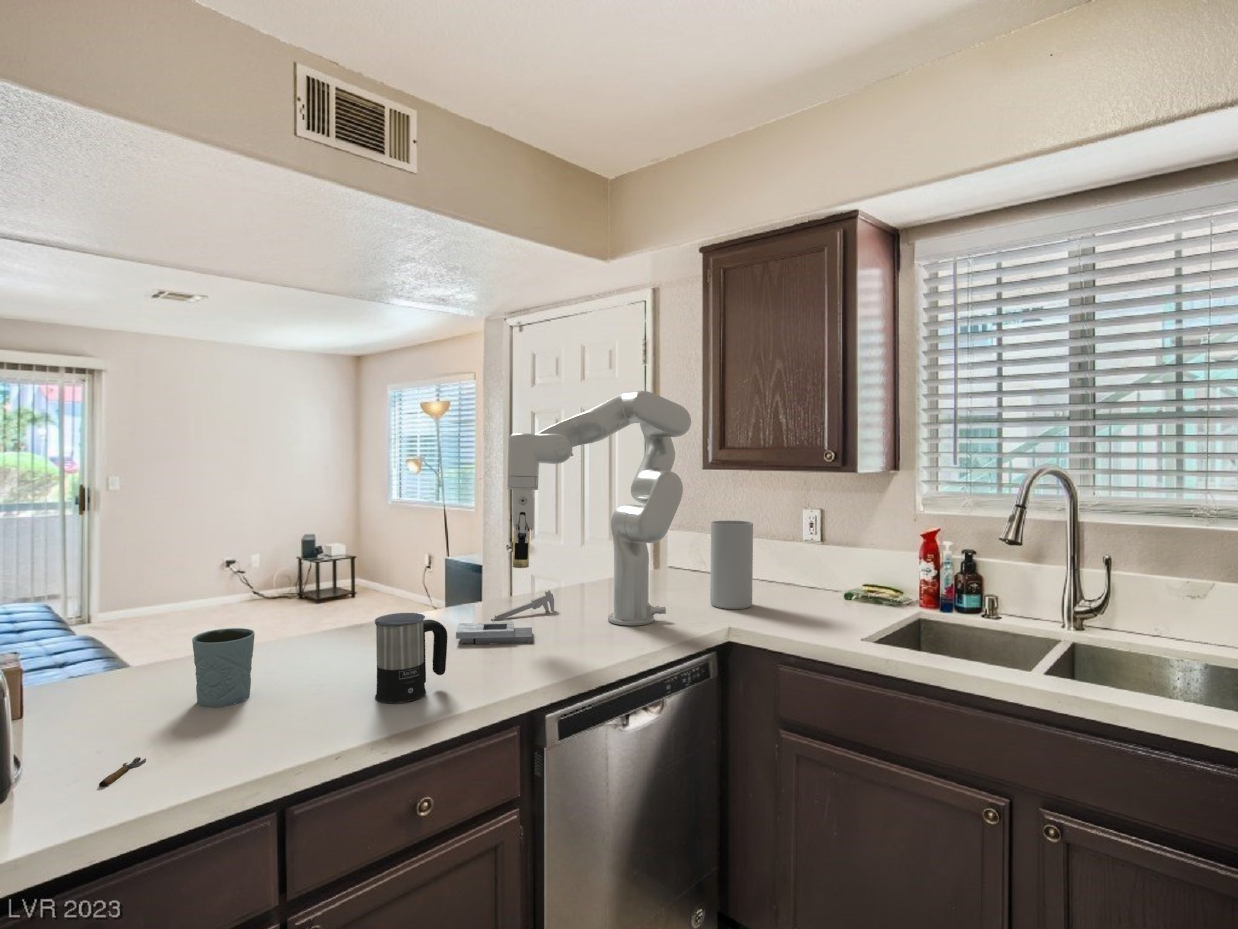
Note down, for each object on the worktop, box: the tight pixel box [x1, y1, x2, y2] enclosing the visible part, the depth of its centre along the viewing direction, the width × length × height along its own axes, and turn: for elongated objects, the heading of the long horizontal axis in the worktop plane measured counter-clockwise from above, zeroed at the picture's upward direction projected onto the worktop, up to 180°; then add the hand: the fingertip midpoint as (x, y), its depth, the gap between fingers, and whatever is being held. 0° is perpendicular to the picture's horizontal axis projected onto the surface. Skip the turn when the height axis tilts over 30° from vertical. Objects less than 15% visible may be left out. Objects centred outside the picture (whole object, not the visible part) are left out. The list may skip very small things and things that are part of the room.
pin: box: [512, 528, 531, 569], centre depth 175 cm, size 4×4×10 cm
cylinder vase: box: [709, 520, 754, 610], centre depth 215 cm, size 12×12×25 cm
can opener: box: [98, 756, 147, 788], centre depth 102 cm, size 9×2×1 cm, turn 178°
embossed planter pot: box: [191, 627, 256, 708], centre depth 132 cm, size 10×10×12 cm
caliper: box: [490, 589, 555, 622], centre depth 200 cm, size 20×1×6 cm, turn 131°
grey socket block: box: [455, 621, 533, 645], centre depth 175 cm, size 18×9×3 cm, turn 98°
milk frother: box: [374, 612, 448, 704], centre depth 138 cm, size 14×16×15 cm
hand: (520, 557), depth 175 cm, fingers closed on pin, 4 cm apart
